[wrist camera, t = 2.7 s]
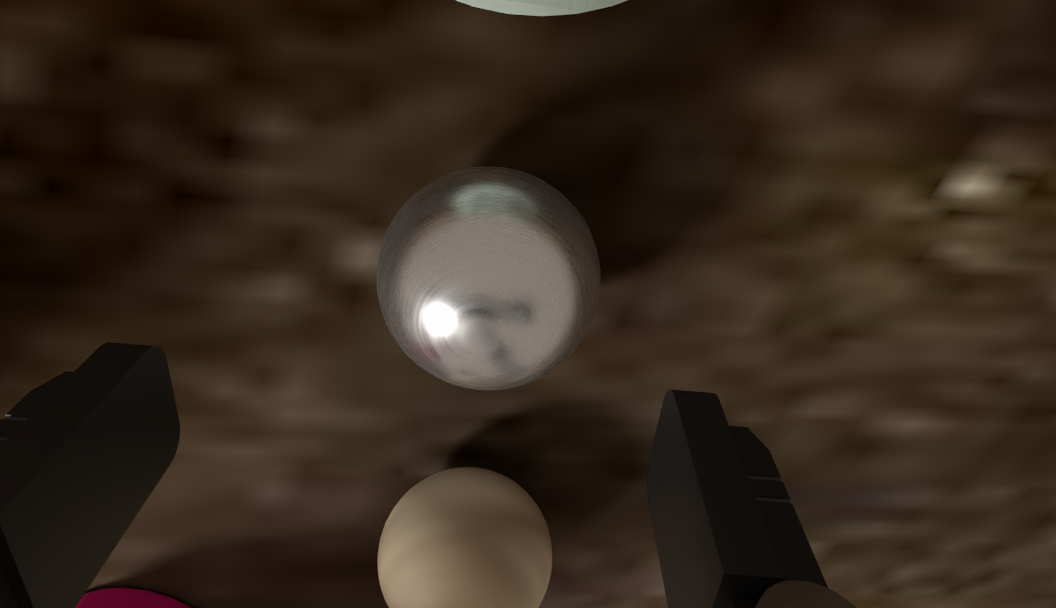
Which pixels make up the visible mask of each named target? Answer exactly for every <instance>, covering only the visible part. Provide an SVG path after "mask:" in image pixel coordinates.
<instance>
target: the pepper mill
mask: <svg viewBox="0 0 1056 608" xmlns="http://www.w3.org/2000/svg"><path fill="white" fill-rule="evenodd" d="M75 608H191V607H190V606H188V605H186V604H184V603H182V602H179V601H177V600H175V599H173V598H170V597H168V596H166V595H162V594H159V593H155V592H152V591H147V590H141V589H134V588H124V587H120V588H106V589H99V590H96V591H92V592H89V593H85V594H84V595H83V596H82V598H81V599H80V601H79V602H78V604H77V605H76V607H75Z"/></svg>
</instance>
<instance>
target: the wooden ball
mask: <svg viewBox="0 0 1056 608" xmlns="http://www.w3.org/2000/svg"><path fill="white" fill-rule="evenodd" d="M377 565H378V576H379V582H380V586H381V590H382V593H383V596H384V599H385V601H386V603H387V605H388V607H389V608H538V607H539V606H540V604H541V602H542V600H543V598H544V595H545V593H546V590H547V587H548V584H549V580H550V576H551V569H552V545H551V538H550V534H549V530H548V527H547V523H546V521H545V519H544V517H543V515H542V513H541V510H540V509H539V507H538V506H537V504H536V503H535V501H534V500H533V499H532V497H531V496H530V495H529V494H528V493H527V492H526V491H525V490H524V489H523V488H522V487H521V486H519V485H518V484H517V483H516V482H514V481H513V480H511V479H510V478H508V477H506V476H504V475H502V474H500V473H497V472H494V471H491V470H488V469H484V468H478V467H458V468H451V469H447V470H443V471H440V472H438V473H435V474H433V475H431V476H429V477H427V478H425V479H423V480H422V481H420V482H419V483H417V484H416V485H415V486H413V487H412V488H411V489H410V490H409V491H408V492H407V493H406V494H404V496H403V497H402V498H401V499H400V500H399V502H398V503H397V504H396V506H395V507H394V508H393V510H392V512H391V514H390V516H389V517H388V519H387V521H386V523H385V526H384V529H383V532H382V535H381V538H380V543H379V549H378V564H377Z"/></svg>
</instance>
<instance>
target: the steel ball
mask: <svg viewBox="0 0 1056 608" xmlns="http://www.w3.org/2000/svg"><path fill="white" fill-rule="evenodd" d="M377 293H378V298H379V303H380V307H381V311H382V314H383V317H384V319H385V322H386V324H387V326H388V328H389V330H390V332H391V334H392V335H393V337H394V339H395V340H396V341H397V343H398V344H399V346H400V347H401V349H402V350H403V351H404V352H405V353H406V354H407V355H408V356H409V358H411V359H412V360H413V361H414V362H415V363H416V364H417V365H419V366H420V367H421V368H423V369H424V370H426V371H427V372H429V373H430V374H432V375H434V376H436V377H437V378H439V379H441V380H443V381H446V382H448V383H451V384H454V385H457V386H461V387H464V388H470V389H476V390H500V389H507V388H512V387H516V386H520V385H524V384H527V383H529V382H532V381H534V380H537V379H539V378H540V377H542V376H544V375H546V374H548V373H549V372H550V371H552V370H553V369H555V368H556V367H557V366H559V365H560V364H561V363H562V362H563V361H564V360H566V359H567V358H568V357H569V356H570V355H571V354H572V352H573V351H574V350H575V349H576V348H577V346H578V345H579V344H580V342H581V341H582V339H583V337H584V336H585V334H586V333H587V331H588V329H589V327H590V325H591V322H592V320H593V318H594V314H595V311H596V307H597V304H598V300H599V294H600V263H599V257H598V252H597V249H596V246H595V243H594V240H593V237H592V234H591V232H590V230H589V228H588V226H587V224H586V222H585V221H584V219H583V218H582V216H581V215H580V213H579V212H578V210H577V209H576V208H575V207H574V206H573V204H572V203H571V202H570V201H569V200H568V199H567V198H566V197H565V196H564V195H563V194H562V193H560V192H559V191H558V190H557V189H556V188H554V187H553V186H551V185H550V184H548V183H547V182H545V181H543V180H541V179H539V178H537V177H535V176H533V175H531V174H528V173H525V172H522V171H519V170H515V169H510V168H505V167H494V166H482V167H471V168H466V169H461V170H457V171H454V172H451V173H448V174H446V175H444V176H442V177H440V178H438V179H435V180H434V181H432V182H430V183H429V184H427V185H426V186H424V187H423V188H421V189H420V190H418V191H417V192H416V193H415V194H414V195H413V196H412V197H411V198H410V199H408V201H407V202H406V203H405V204H404V205H403V207H402V208H401V209H400V210H399V211H398V213H397V214H396V216H395V217H394V219H393V221H392V222H391V224H390V225H389V227H388V230H387V232H386V234H385V237H384V239H383V242H382V245H381V249H380V253H379V257H378V264H377Z"/></svg>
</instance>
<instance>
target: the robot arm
mask: <svg viewBox="0 0 1056 608" xmlns="http://www.w3.org/2000/svg"><path fill="white" fill-rule="evenodd" d="M179 436H180V423H179V418H178V413H177V408H176V403H175V398H174V393H173V388H172V383H171V378H170V373H169V368H168V363H167V359H166V356H165V353H164V352H163V350H162V349H161V348H159V347H157V346H145V345H133V344H120V343H105V344H103V345H101V346H100V347H99V348H98V349H97V350H96V351H95V352H94V353H93V354H92V355H91V356H90V357H89V358H88V359H87V360H86V361H85V362H84V363H83V364H82V365H81V366H80V367H79V368H78V369H77V370H76V371H75V372H64V373H62V374H61V375H59V376H57V377H55V378H53V379H51V380H50V381H48V382H46V383H44V384H42V385H41V386H39V387H37V388H35V389H33V390H31V391H30V392H29V393H28V394H27V395H26V396H25V397H24V398H23V399H22V400H21V401H20V402H18V403H17V404H16V405H15V406H14V407H13V408H12V409H11V410H10V411H9V412H8V413H7V414H6V418H5V420H2V419H1V420H0V608H75V607H76V605H77V604H78V602H79V601H80V599H81V598H82V596H83V595H84V593H85V592H86V590H87V589H88V587H89V586H90V584H91V583H92V581H93V580H94V578H95V577H96V575H97V574H98V572H99V571H100V569H101V568H102V566H103V565H104V563H105V562H106V560H107V559H108V557H109V556H110V554H111V553H112V551H113V550H114V548H115V547H116V545H117V544H118V542H119V541H120V539H121V538H122V536H123V535H124V533H125V531H126V530H127V528H128V527H129V525H130V524H131V522H132V521H133V519H134V518H135V516H136V515H137V513H138V512H139V510H140V509H141V507H142V506H143V504H144V503H145V501H146V500H147V498H148V497H149V495H150V494H151V492H152V491H153V489H154V488H155V486H156V485H157V483H158V482H159V480H160V479H161V477H162V476H163V474H164V473H165V471H166V470H167V468H168V467H169V465H170V464H171V462H172V460H173V458H174V456H175V453H176V451H177V447H178V443H179ZM780 477H781V476H780V474H779V472H778V469H777V467H776V465H775V462H774V460H773V458H772V455H771V453H770V451H769V450H768V449H767V448H766V446H765V445H764V444H763V443H762V442H761V441H760V440H759V439H758V438H757V437H756V436H755V435H754V434H753V433H752V432H751V431H750V430H749V429H748V428H747V427H735V426H729V425H728V423H727V420H726V417H725V414H724V412H723V409H722V406H721V403H720V401H719V398H718V396H717V395H716V394H715V393H705V392H693V391H681V390H668V391H667V392H666V394H665V397H664V401H663V405H662V409H661V413H660V417H659V422H658V426H657V430H656V435H655V439H654V443H653V447H652V452H651V456H650V461H649V467H648V478H647V490H648V501H649V506H650V512H651V517H652V523H653V528H654V533H655V539H656V544H657V550H658V555H659V561H660V566H661V571H662V577H663V582H664V588H665V593H666V598H667V604H668V608H856V607H855V606H854V605H853V604H852V603H851V602H849V601H848V600H847V599H846V598H844V597H842V596H841V595H839V594H838V593H836V592H834V591H832V590H830V589H828V587H827V584H826V582H825V580H824V577H823V575H822V573H821V570H820V568H819V566H818V563H817V561H816V559H815V556H814V554H813V552H812V549H811V547H810V545H809V542H808V540H807V537H806V535H805V533H804V530H803V528H802V526H801V523H800V521H799V519H798V516H797V514H796V512H795V509H794V507H793V505H792V504H790V502H789V499H790V498H789V495H788V493H787V490H786V488H785V486H784V483H783V482H781V481H780Z"/></svg>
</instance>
